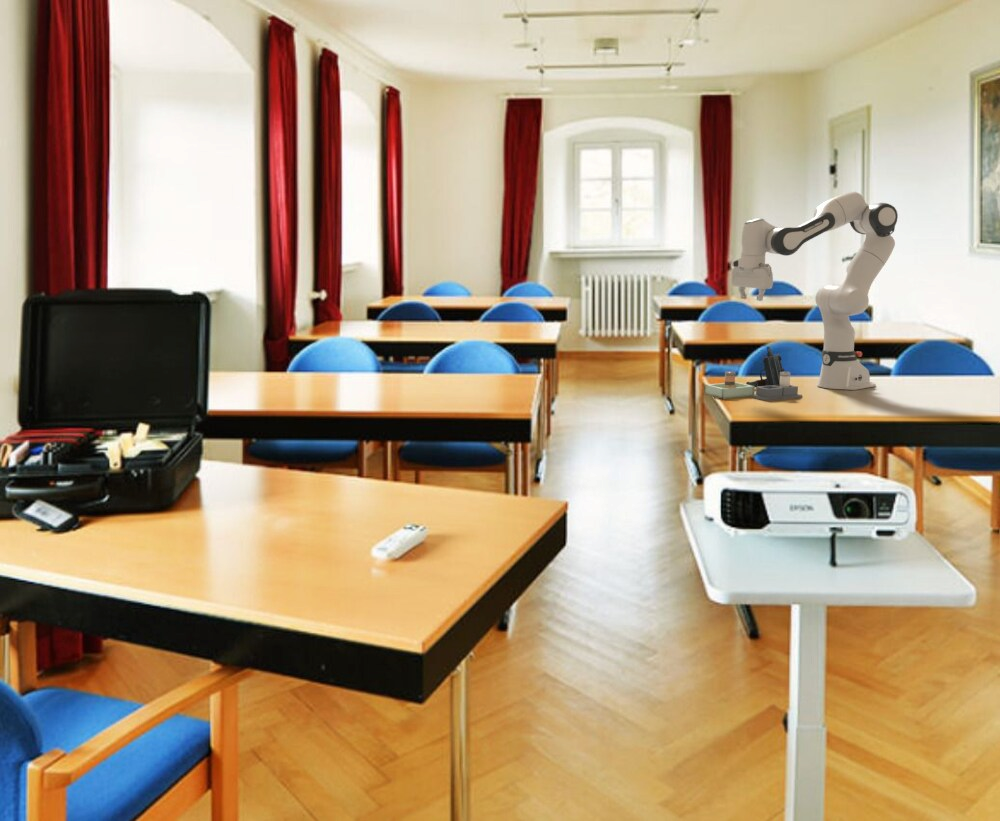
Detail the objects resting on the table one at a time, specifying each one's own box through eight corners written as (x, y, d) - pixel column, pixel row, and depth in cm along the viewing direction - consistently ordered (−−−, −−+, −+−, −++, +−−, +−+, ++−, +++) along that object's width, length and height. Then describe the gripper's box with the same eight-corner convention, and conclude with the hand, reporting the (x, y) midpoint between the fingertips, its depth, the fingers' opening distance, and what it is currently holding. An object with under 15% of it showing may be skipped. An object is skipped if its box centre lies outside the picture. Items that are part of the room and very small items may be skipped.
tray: (735, 391, 385) (735, 382, 385) (754, 395, 376) (754, 386, 375) (705, 394, 380) (705, 384, 379) (723, 398, 370) (723, 389, 369)
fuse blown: (730, 392, 380) (731, 371, 378) (736, 393, 377) (737, 372, 375) (722, 393, 378) (723, 371, 377) (728, 394, 375) (729, 373, 374)
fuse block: (785, 393, 379) (786, 383, 378) (802, 397, 371) (802, 386, 370) (751, 397, 373) (751, 386, 372) (767, 401, 365) (767, 390, 364)
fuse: (784, 392, 376) (785, 371, 374) (791, 394, 372) (792, 372, 371) (776, 393, 374) (777, 372, 373) (783, 395, 371) (784, 373, 369)
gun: (741, 352, 391) (779, 344, 383) (750, 394, 392) (788, 387, 384) (739, 353, 389) (777, 345, 381) (748, 395, 390) (786, 388, 382)
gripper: (777, 263, 374) (776, 301, 377) (742, 261, 392) (741, 297, 395) (764, 264, 371) (762, 302, 374) (729, 262, 390) (728, 298, 392)
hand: (751, 299), depth 385 cm, fingers open, 8 cm apart
